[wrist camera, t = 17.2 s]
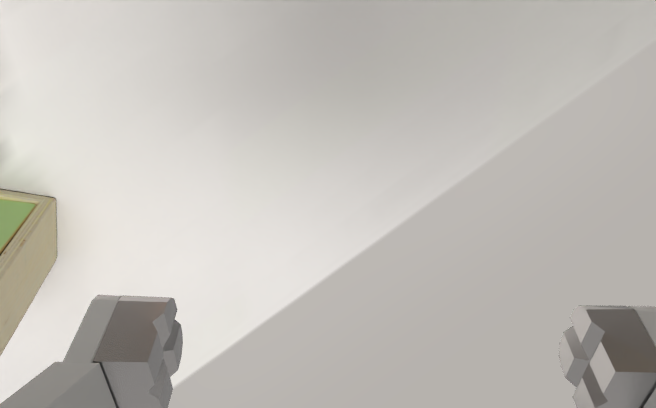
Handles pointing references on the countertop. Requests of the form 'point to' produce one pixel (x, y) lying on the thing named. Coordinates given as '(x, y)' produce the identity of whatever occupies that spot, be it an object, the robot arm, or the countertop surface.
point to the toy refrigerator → (23, 254)
